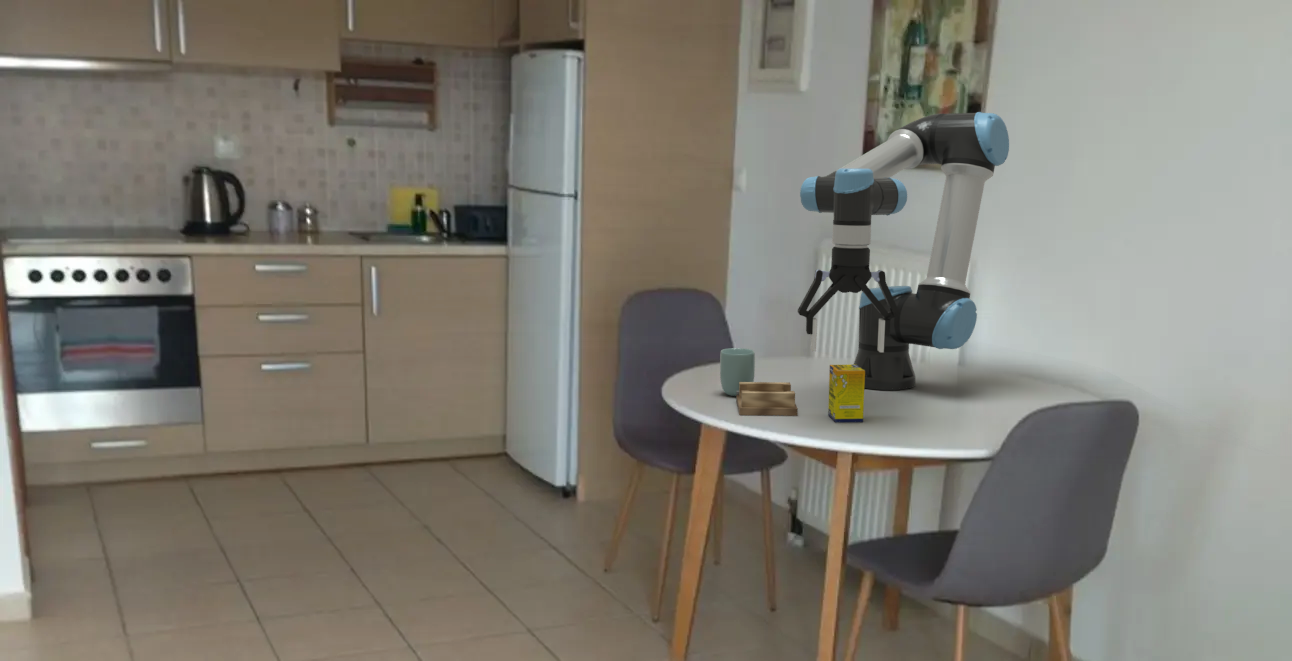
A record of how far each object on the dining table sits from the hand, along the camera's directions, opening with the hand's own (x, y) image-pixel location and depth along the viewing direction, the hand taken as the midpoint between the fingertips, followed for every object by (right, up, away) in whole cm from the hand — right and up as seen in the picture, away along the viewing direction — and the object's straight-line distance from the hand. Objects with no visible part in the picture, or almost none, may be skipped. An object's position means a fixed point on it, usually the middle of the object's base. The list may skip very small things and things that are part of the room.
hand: (846, 350), depth 221 cm
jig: (-15, -12, +12) cm, 23 cm away
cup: (-20, -11, +25) cm, 34 cm away
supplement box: (0, -14, +2) cm, 15 cm away
